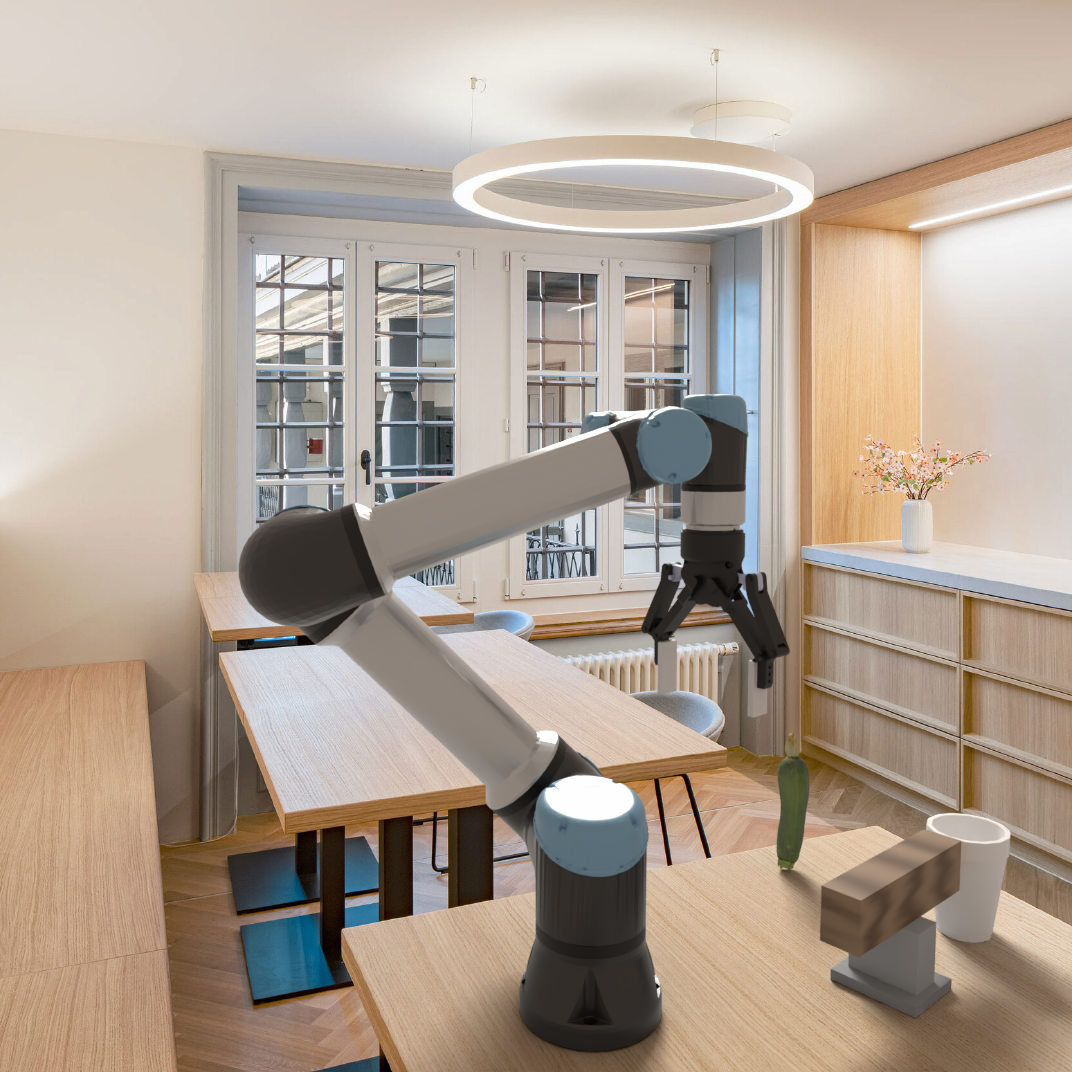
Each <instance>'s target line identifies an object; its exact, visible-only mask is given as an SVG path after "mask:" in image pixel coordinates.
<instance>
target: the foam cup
mask: <svg viewBox="0 0 1072 1072" xmlns="http://www.w3.org/2000/svg"><path fill="white" fill-rule="evenodd" d="M925 825H926V829H925V830H928V831H932V832H935V833H938V834H941V835H945V836H948V837H951V838H954V839H957V840H961V864H960V888H959V891H958V892H957V893H955V894H954V895H952V896H951V897H949V898H948V899H946V900H945V901H943V902H942V903H940V904H939V905H937V906H936V907H934V908H933V911H934V919H935V921H934V922H937V923H936V929H938V931H939V933H941V934H942V935H944V936H946V937H948V938H950V939H953V940H955V941H959V942H963V943H972V944H973V943H974V944H977V943H985V942H984V941H986V942H987V941H989V940H991V939H992V934H993V931H994V927H995V921H996V917H997V916H996V915H997V911H998V906H999V901H1000V896H1001V891H1002V885H1003V880H1004V876H1005V870H1006V865H1007V860H1008V858H1009V857H1010V847H1011V846H1010V845H1011V830H1009V829H1008V828H1007V827H1006V826H1004V825H1003V824H1002V823H999V822H997V821H995V820H992V819H990V818H987V817H983V816H977V815H975V814H969V813H959V812H958V813H957V812H956V813H955V812H947V813H938V814H935V815H933V816H930V817H928V818H927V820H926V824H925Z"/></svg>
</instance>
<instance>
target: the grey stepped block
mask: <svg viewBox="0 0 1072 1072" xmlns="http://www.w3.org/2000/svg"><path fill="white" fill-rule="evenodd" d="M936 923H937V922H936V921H934V920H932V919H929V918H926V917H924V916H921V917H919V918H918V919H916V920H915V921H913V922H912V923H910V924H909V925H907V926H906V927H904V928H903V929H901V930H900V931H898V932H897V933H895V934H894V935H892V936H891V937H889V938H888V939H886V940H885V941H883V942H882V943H880V944H879V945H877V946H876V947H874V948H873V949H871V950H870V951H868V952H867V953H865V954H864V955H862V956H861V957H857V956H855V955H852V954H850V953H848V956H847V957H846V958H844V959H843V960H842V961H840V962H838V963H837V964H835V965H834V966H833V967H831V968H830V980H832V981H833V982H836V983H838V984H841V985H843V986H845V987H848V988H850V989H852V990H853V991H856V992H858V993H860V994H863V995H864V996H867V997H869V998H871V999H873V1000H875V1001H877V1002H880V1003H882V1004H884V1005H887V1006H888V1007H891V1008H892V1009H895V1010H898V1011H900V1012H902V1013H903V1014H906V1015H908V1016H910V1017H913V1018H915V1019H917V1018H918V1017H919V1016H920V1015H922V1014H923V1013H924V1012H925V1011H926V1010H928V1009H930V1007H932V1005H934V1004H935V1003H936V1002H937V1001H939V1000H940V999H941V998H942V997H944V996H946V995H947V993H948V992H949V991H951V990H952V982H953V981H952V978H950V977H948V976H946V975H943V974H941V973H939V972H936V971H935V970H936V969H935V968H936V967H935V966H936V948H937V947H936V945H937V943H936V942H937V927H936Z"/></svg>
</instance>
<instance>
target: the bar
mask: <svg viewBox="0 0 1072 1072" xmlns="http://www.w3.org/2000/svg"><path fill="white" fill-rule="evenodd" d="M960 864H961V840H957V839H954V838H951V837H948V836H945V835H941V834H938V833H935V832H932V831H928V830H926V829H925V828H923V829H922V830H920V831H918V832H917V833H915V834H912V835H910V836H909V837H907V838H905V839H904V840H901V841H900V842H898V843H897V844H895V845H892V846H890V847H889V848H887V849H885V850H884V851H882V852H880V853H878V854H876V855H874V856H873V857H871V858H868V859H867V860H865V861H864V862H862V863H859V864H858V865H856V866H854V867H852V868H851V869H849V870H847V871H845V872H843V873H842V874H840V875H838V876H836V877H834V878H832V879H830V880H829V881H826V882H825V883H823V884H822V885H821V886H820V887H821V888H820V890H821V891H820V892H821V893H820V919H819V920H820V921H819V923H820V926H819V927H820V928H819V941H821V942H823V943H824V944H826V945H830V946H832V947H834V948H836V949H839V950H840V951H843V952H845V953H848V954H849V953H850V954H852V955H855V956H857V957H861V956H862V955H864V954H865V953H867V952H868V951H870V950H871V949H873V948H874V947H876V946H877V945H879V944H880V943H882V942H883V941H885V940H886V939H888V938H889V937H891V936H892V935H894V934H895V933H897V932H898V931H900V930H901V929H903V928H904V927H906V926H907V925H909V924H910V923H912V922H913V921H915V920H916V919H918V918H919V917H923V916H924V915H925V914H926V913H929V911H931V910H934V907H936V906H937V905H939V904H940V903H942V902H943V901H945V900H946V899H948V898H949V897H951V896H952V895H954V894H955V893H957V892H958V891H959V888H960Z"/></svg>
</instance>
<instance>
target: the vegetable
mask: <svg viewBox="0 0 1072 1072" xmlns="http://www.w3.org/2000/svg"><path fill="white" fill-rule="evenodd" d="M784 752H785V753H786V757H784V758H783V759H782V760H781V761H780V763H779V765H778V768H777V782H778V783H777V784H778V791H779V798H780V801H779V802H780V814H779V821H778V828H777V832H776V834H777V835H776V856H777V866H778V867H779V868H780V869H783V868H784V869H788V870H792V869H793V868H794V866H795V863H796V862H797V861H798V860H799V857H800V853H801V849H802V846H803V841H804V838H805V837H804V836H805V825H806V824H805V823H806V817H807V816H806V815H807V810H808V802H809V800H810V799H809V798H810V772H809V769H808V765H807V763H806V762H805V761H804V759H803V758H801V757H799V755H800V751H799V747H798V740H797V738H796V736H795V732H790V733H788V736H787V738H786V743H785V746H784Z"/></svg>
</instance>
